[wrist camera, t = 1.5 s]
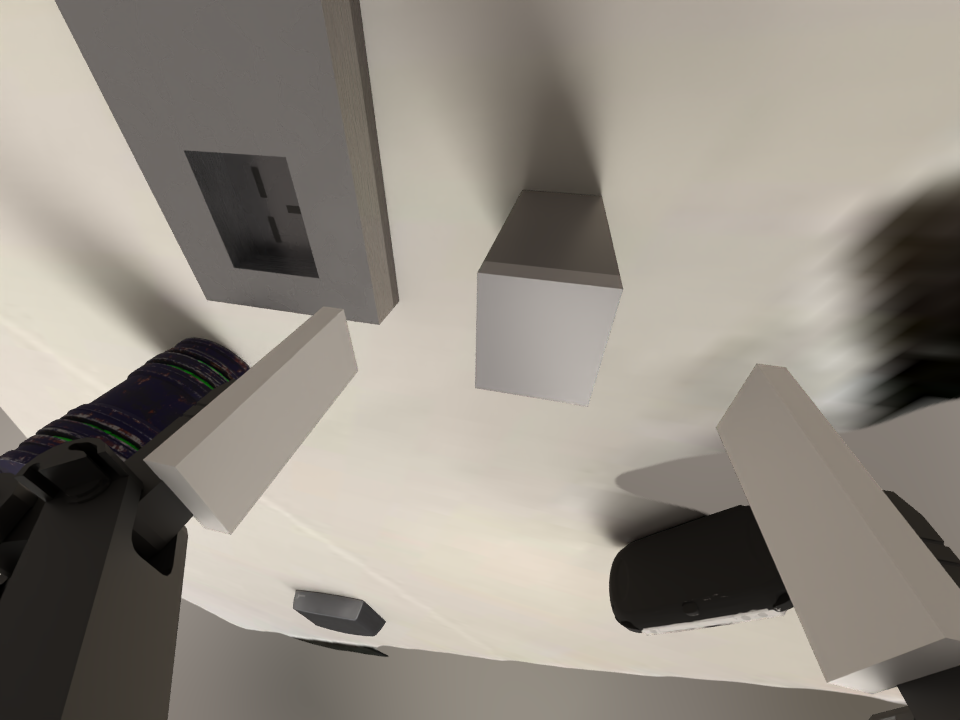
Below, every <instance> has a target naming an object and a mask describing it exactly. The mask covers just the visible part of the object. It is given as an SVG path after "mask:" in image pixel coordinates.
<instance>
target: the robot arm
mask: <svg viewBox="0 0 960 720" xmlns="http://www.w3.org/2000/svg"><path fill="white" fill-rule="evenodd" d="M357 372H358V367H357V363H356V359H355V355H354V350H353V346H352V342H351V338H350V334H349V330H348V325H347V321H346V317H345V313H344V309H340V308H332V307H325V306H323V307H322V308H321V309H320V310H319V311H317V312H316V313H315V314H314V315H313V316H312V317H310V318H309V319H308V320H307V321H306V322H305V323H303V324H302V325H301V326H300V327H299V328H297V329H296V330H295V331H294V332H293V333H292V334H290V335H289V336H288V337H287V338H286V339H285V340H283V341H282V342H281V343H280V344H279V345H277V346H276V347H275V348H274V349H273V350H272V351H270V352H269V353H268V354H267V355H266V356H264V357H263V358H262V359H261V360H260V361H259V362H257V363H256V364H255V365H254V366H253V367H252V368H250V369H249V370H248V371H247V372H246V373H244V374H243V375H242V376H241V377H240V378H239V379H237V380H236V379H232V380H230V381H228V382H226V383H224V384H222V385H220V386H218V387H216V388H215V389H213V390H211V391H210V392H209V393H208V394H207V395H205V396H204V397H203V398H202V399H200V400H199V401H198V402H197V405H196V406H194V405H193V406H192V407H191V408H189V409H188V410H187V411H186V412H185V413H183V416H182V417H179V418H177V419H176V420H175V421H174V422H172V423H171V424H170V425H169V426H168V427H166V428H165V429H164V430H163V431H161V432H160V433H159V434H158V435H157V436H155V437H154V438H153V439H152V440H150V441H149V442H148V443H147V444H146V445H144V446H143V447H142V448H141V449H139V450H138V451H137V452H136V453H135V454H133V455H132V456H131V457H130V458H128V459H127V460H126V461H124V462H123V461H122V460H121V459H120V458H119V457H118V456H117V455H116V454H115V453H114V452H113V451H112V450H111V449H110V448H109V446H108V445H107V444H106V443H104V442H103V441H102V440H101V439H99V438H89V437H87V438H81V439H76V440H71V441H68V442H66V443H63V444H60V445H57V446H55V447H53V448H51V449H49V450H47V451H45V452H43V453H41V454H39V455H38V456H36V457H35V458H34V459H32V460H31V461H30V462H28V463H27V464H26V465H24V466H23V467H22V468H21V469H20V471H19V472H18V473H17V474H16V475H14V474H12V473H0V573H1V575H0V720H167V719H168V710H169V700H170V692H171V683H172V674H173V664H174V656H175V648H176V639H177V629H178V621H179V612H180V602H181V594H182V585H183V576H184V567H185V558H186V549H187V540H188V533H187V528H186V527H185V526H184V525H185V524H186V523H187V522H188V521H189V520H190V519H191V517H192V516H194V517H195V518H196V520H197V521H198V522H199V523H200V524H201V525H202V526H203V527H204V528H206V529H210V530H214V531H218V532H222V533H226V534H230V535H231V534H232V533H233V531H234V530H235V529H236V528H237V526H238V525H239V524H240V522H241V521H242V520H243V519H244V517H245V516H246V515H247V513H248V512H249V511H250V509H251V508H252V507H253V506H254V504H255V503H256V502H257V500H258V499H259V498H260V497H261V495H262V494H263V493H264V491H265V490H266V489H267V488H268V486H269V485H270V484H271V482H272V481H273V480H274V479H275V477H276V476H277V475H278V473H279V472H280V471H281V470H282V468H283V467H284V466H285V464H286V463H287V462H288V461H289V459H290V458H291V457H292V455H293V454H294V453H295V451H296V450H297V449H298V448H299V446H300V445H301V444H302V442H303V441H304V440H305V439H306V437H307V436H308V435H309V433H310V432H311V431H312V430H313V428H314V427H315V426H316V424H317V423H318V422H319V421H320V419H321V418H322V417H323V415H324V414H325V413H326V412H327V410H328V409H329V408H330V406H331V405H332V404H333V403H334V401H335V400H336V399H337V397H338V396H339V395H340V393H341V392H342V391H343V390H344V388H345V387H346V386H347V384H348V383H349V382H350V381H351V379H352V378H353V377H354V375H355V374H356V373H357ZM716 429H717V431H718V433H719V436H720V438H721V440H722V442H723V445H724V447H725V449H726V452H727V454H728V456H729V459H730V461H731V463H732V465H733V468H734V470H735V472H736V475H737V477H738V479H739V482H740V484H741V486H742V489H743V491H744V493H745V495H746V498H747V500H748V502H749V505H750V507H751V509H752V512H753V514H754V516H755V519H756V521H757V523H758V525H759V528H760V530H761V532H762V535H763V537H764V539H765V542H766V544H767V546H768V548H769V551H770V553H771V555H772V558H773V560H774V562H775V565H776V567H777V569H778V571H779V574H780V576H781V578H782V581H783V583H784V585H785V588H786V590H787V592H788V595H789V597H790V599H791V601H792V604H793V606H794V608H795V611H796V613H797V615H798V618H799V620H800V622H801V624H802V627H803V629H804V631H805V634H806V636H807V638H808V641H809V643H810V645H811V648H812V650H813V652H814V654H815V657H816V659H817V661H818V664H819V666H820V668H821V671H822V673H823V675H824V677H825V680H826V682H827V683H829V684H834V685H838V686H842V687H846V688H850V689H854V690H858V691H862V692H866V693H870V694H874V693H878V692H881V691H884V690H887V689H891V688H894V687H898V688H899V690H900V692H901V694H902V696H903V698H904V699H905V701H906V703H907V705H908V706H905V707H901V708H897V709H893V710H890V711H886V712H882V713H878V714H875V715H872V716H871V717H870V719H869V720H960V560H959V559H958V558H957V556H956V555H955V554H954V553H953V552H952V550H951V549H950V548H949V547H945V546H944V541H943V540H942V538H941V537H940V536H939V535H938V534H937V532H936V531H935V530H934V529H933V528H932V526H931V525H930V524H929V523H928V522H927V520H926V519H925V518H924V517H923V516H922V515H921V514H920V513H918V512H917V511H916V510H915V509H914V508H913V507H911V506H910V505H909V504H908V503H906V502H905V501H904V500H903V499H901V498H900V497H899V496H898V495H897V494H895V493H894V492H891V491H885V490H881V488H880V487H879V485H878V484H877V483H876V482H875V481H874V479H873V478H872V477H871V475H870V474H869V473H868V471H867V470H866V469H865V468H864V466H863V465H862V464H861V463H860V462H859V460H858V459H857V457H856V456H855V455H854V454H853V452H852V451H851V450H850V449H849V447H848V446H847V445H846V443H845V442H844V441H843V440H842V438H841V437H840V436H839V435H838V433H837V432H836V431H835V429H834V428H833V427H832V426H831V424H830V423H829V422H828V421H827V419H826V418H825V417H824V415H823V414H822V413H821V412H820V410H819V409H818V408H817V407H816V405H815V404H814V403H813V401H812V400H811V399H810V398H809V396H808V395H807V394H806V393H805V391H804V390H803V389H802V387H801V386H800V385H799V384H798V382H797V381H796V380H795V379H794V377H793V376H792V375H791V373H790V372H789V371H788V370H787V368H786V367H779V366H771V365H763V364H756V366H755V367H754V369H753V370H752V372H751V373H750V375H749V377H748V378H747V380H746V381H745V383H744V384H743V386H742V388H741V389H740V391H739V392H738V394H737V395H736V397H735V399H734V400H733V402H732V403H731V405H730V406H729V408H728V410H727V411H726V413H725V414H724V416H723V417H722V419H721V421H720V422H719V424H718V425H717V427H716Z"/></svg>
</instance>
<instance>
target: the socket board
mask: <svg viewBox="0 0 960 720" xmlns="http://www.w3.org/2000/svg"><path fill="white" fill-rule="evenodd" d="M55 2H56V4H57V6H58V8H59V10H60V12H61V14H62V16H63V18H64V19H65V21H66V23H67V25H68V27H69V29H70V31H71V33H72V35H73V37H74V39H75V41H76V43H77V45H78V47H79V49H80V51H81V53H82V55H83V57H84V59H85V61H86V63H87V65H88V67H89V69H90V71H91V73H92V75H93V77H94V78H95V80H96V82H97V84H98V86H99V88H100V90H101V92H102V94H103V96H104V98H105V100H106V102H107V104H108V106H109V108H110V110H111V112H112V114H113V116H114V118H115V120H116V122H117V124H118V126H119V128H120V130H121V132H122V134H123V136H124V137H125V139H126V141H127V143H128V145H129V147H130V149H131V151H132V153H133V155H134V157H135V159H136V161H137V163H138V165H139V167H140V169H141V171H142V173H143V175H144V177H145V179H146V181H147V183H148V185H149V187H150V189H151V191H152V193H153V195H154V196H155V198H156V200H157V202H158V204H159V206H160V208H161V210H162V212H163V214H164V216H165V218H166V220H167V222H168V224H169V226H170V228H171V230H172V232H173V234H174V236H175V238H176V240H177V242H178V244H179V246H180V248H181V250H182V252H183V254H184V256H185V257H186V259H187V261H188V263H189V265H190V267H191V269H192V271H193V273H194V275H195V277H196V279H197V281H198V283H199V285H200V287H201V289H202V291H203V293H204V295H205V297H206V299H207V300H210V301H217V302H224V303H231V304H238V305H245V306H252V307H259V308H266V309H273V310H280V311H287V312H294V313H301V314H308V315H314V314H315V313H316V312H317V311H319V310H320V309H321V308H322V307H323V306H325V307H332V308H340V309H344V313H345V317H346V320H349V321H356V322H363V323H370V324H377V325H380V323H381V322H382V321H383V320H384V319H385V317H386V316H387V315H388V314H389V313H390V312H391V310H392V309H393V308H394V307H395V306H396V304H397V303H398V302H399V297H398V289H397V282H396V274H395V267H394V259H393V252H392V244H391V237H390V229H389V222H388V214H387V206H386V199H385V191H384V184H383V176H382V169H381V161H380V154H379V146H378V139H377V131H376V124H375V116H374V109H373V101H372V94H371V86H370V79H369V71H368V64H367V56H366V49H365V41H364V34H363V26H362V19H361V11H360V4H359V0H55Z"/></svg>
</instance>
